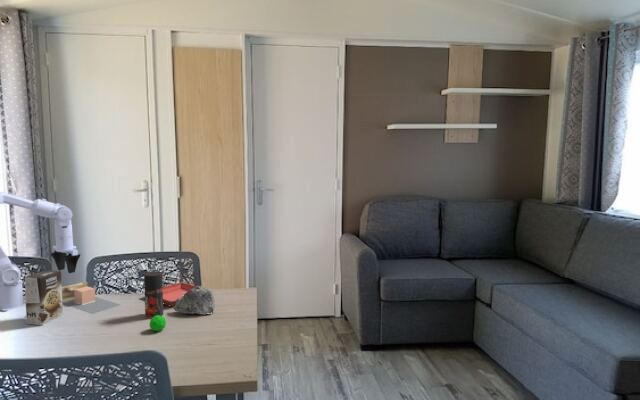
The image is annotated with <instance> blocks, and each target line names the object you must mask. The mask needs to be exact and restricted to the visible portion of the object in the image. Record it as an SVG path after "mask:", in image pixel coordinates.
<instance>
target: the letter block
mask: <svg viewBox="0 0 640 400" xmlns="http://www.w3.org/2000/svg"><path fill="white" fill-rule="evenodd" d="M74 296H75V303H78V304H81V305H84V304H88V303H91V302H95V297H96V289H95V287H91V286H88V285H87V286H86V287H82V288H78V289H75V290H74Z"/></svg>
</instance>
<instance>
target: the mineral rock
mask: <svg viewBox="0 0 640 400" xmlns="http://www.w3.org/2000/svg"><path fill="white" fill-rule="evenodd" d="M195 286H196V287H195V288H193V289H191V290H190V291H188V292H186V293H185V294H184V296H183V297H181V298H178V299H177V300H176V305H175V306H174V307H172V308H173V310H174V311H175V312H178V313H182V314H191V315H194V313H196V315H206V314H207V313H211V312H212V313H214V312H215V311H214V309H215V310H216V301H215V294H214V293H213V290H212V288H209V287H208V288H206V287H203V286H202V285H195ZM213 311H214V312H213Z"/></svg>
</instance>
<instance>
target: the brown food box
mask: <svg viewBox="0 0 640 400" xmlns="http://www.w3.org/2000/svg"><path fill="white" fill-rule="evenodd" d="M62 287H63V286H62V270H43V271H39V272H36V273H34V274H30V275H28V276H27V275H26V276H24V289H25V290H24V291H25V292H24V293H25V303H26V306H25V310H26V311H25V313H26V316H25V317H26V319H25V320H26V324H27V325H35V326H44V325H45V324H47V323H49V322H51V321H54V320H56V319H58V318H60V317H62V316H63V315H64V309H63V303H62Z"/></svg>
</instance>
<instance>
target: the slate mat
mask: <svg viewBox="0 0 640 400" xmlns="http://www.w3.org/2000/svg"><path fill="white" fill-rule="evenodd" d="M62 305H66V306H69V307H72V308H75V309H78V310H80V311H81V310H82V311H84V312H87V313H89V314H92V315H93V314H97V313H100V312H103V311H105V310H109V309H113V308H115V307H116V308H117V307H118V306H121V303H120V304H119V303H117V302H114V301H110V300H108V299H104V298H101V297H96V296H95V302H91V303H88V304H84V305H81V304H78V303H75V299H72V300H68V301H64V302H62Z"/></svg>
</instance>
